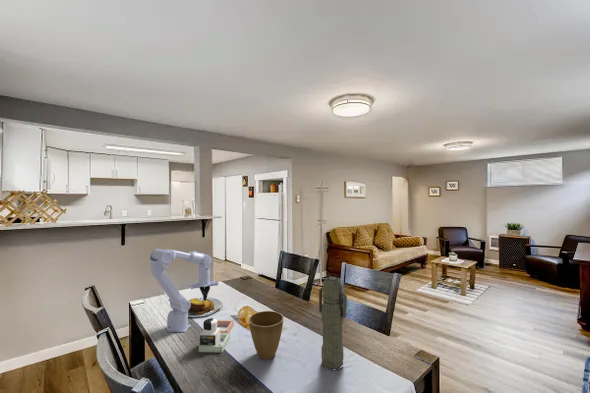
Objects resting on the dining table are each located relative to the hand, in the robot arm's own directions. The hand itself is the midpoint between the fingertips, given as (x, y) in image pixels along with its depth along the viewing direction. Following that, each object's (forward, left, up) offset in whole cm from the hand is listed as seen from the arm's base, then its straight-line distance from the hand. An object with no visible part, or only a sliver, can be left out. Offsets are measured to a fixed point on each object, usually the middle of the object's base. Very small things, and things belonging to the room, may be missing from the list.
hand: (204, 299), depth 157 cm
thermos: (+68, -39, -11) cm, 79 cm away
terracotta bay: (+13, -13, -10) cm, 21 cm away
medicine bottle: (+13, -29, -11) cm, 33 cm away
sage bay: (+15, -27, -10) cm, 33 cm away
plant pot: (+40, -34, -11) cm, 54 cm away
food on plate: (-7, +12, -11) cm, 18 cm away
